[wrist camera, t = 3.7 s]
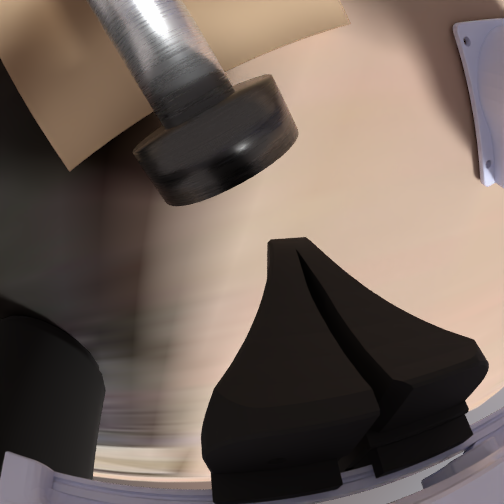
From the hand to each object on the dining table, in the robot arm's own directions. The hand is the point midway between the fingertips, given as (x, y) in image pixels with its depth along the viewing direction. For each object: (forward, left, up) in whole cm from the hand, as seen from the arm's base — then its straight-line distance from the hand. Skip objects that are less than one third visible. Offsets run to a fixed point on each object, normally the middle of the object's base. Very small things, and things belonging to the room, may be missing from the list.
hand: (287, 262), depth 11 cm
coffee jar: (-3, +20, -4) cm, 21 cm away
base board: (+17, 0, -4) cm, 18 cm away
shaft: (+12, 0, -1) cm, 12 cm away
